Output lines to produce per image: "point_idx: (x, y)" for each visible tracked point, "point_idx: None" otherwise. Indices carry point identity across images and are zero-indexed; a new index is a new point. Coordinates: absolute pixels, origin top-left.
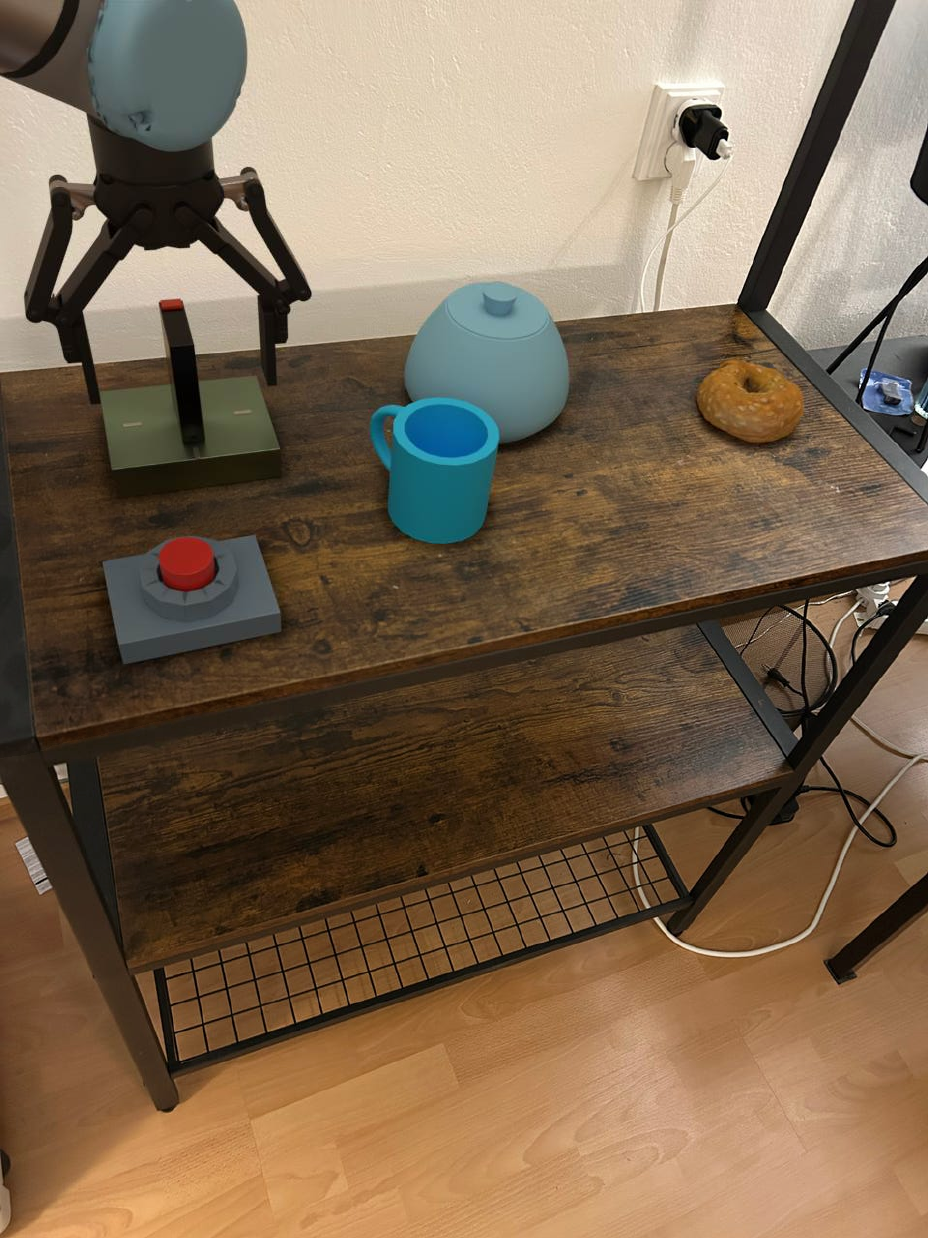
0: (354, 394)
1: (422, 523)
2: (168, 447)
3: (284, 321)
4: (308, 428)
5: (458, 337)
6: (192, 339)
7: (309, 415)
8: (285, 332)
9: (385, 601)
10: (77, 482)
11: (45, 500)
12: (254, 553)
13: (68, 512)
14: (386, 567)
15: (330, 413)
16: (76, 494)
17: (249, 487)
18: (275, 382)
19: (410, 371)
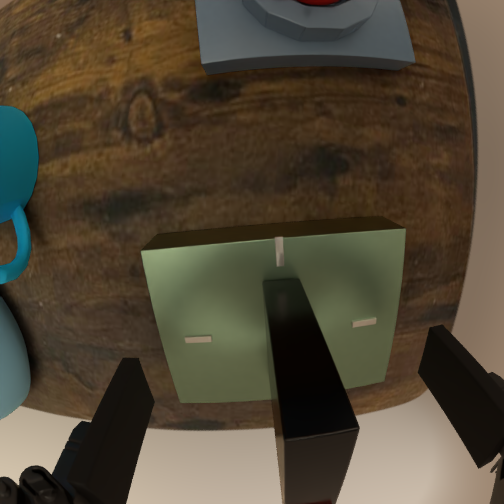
0: (81, 367)
1: (1, 108)
2: (322, 270)
3: (65, 458)
4: (123, 324)
5: None
6: (285, 453)
7: (124, 345)
8: (72, 438)
9: (74, 15)
10: (418, 252)
11: (448, 226)
12: (207, 28)
13: (432, 200)
14: (58, 62)
15: (101, 344)
16: (421, 231)
17: (203, 216)
18: (123, 361)
19: (5, 362)
